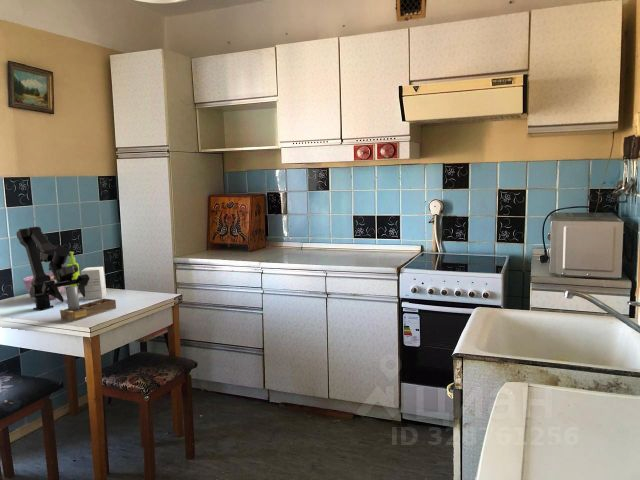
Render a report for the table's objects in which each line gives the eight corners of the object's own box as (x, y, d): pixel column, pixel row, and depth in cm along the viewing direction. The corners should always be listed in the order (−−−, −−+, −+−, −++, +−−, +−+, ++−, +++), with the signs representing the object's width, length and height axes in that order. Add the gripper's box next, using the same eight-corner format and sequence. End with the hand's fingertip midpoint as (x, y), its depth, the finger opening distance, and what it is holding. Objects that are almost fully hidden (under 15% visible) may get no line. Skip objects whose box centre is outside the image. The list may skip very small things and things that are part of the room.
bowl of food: (69, 299, 261) (66, 276, 259) (24, 305, 252) (20, 282, 251) (69, 292, 279) (67, 270, 277) (27, 297, 270) (24, 275, 269)
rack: (61, 319, 222) (59, 310, 222) (104, 306, 241) (103, 297, 241) (73, 321, 218) (71, 311, 218) (116, 308, 237) (115, 299, 237)
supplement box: (88, 296, 266) (85, 267, 264) (106, 294, 267) (103, 266, 266) (83, 300, 257) (80, 270, 255) (102, 298, 259) (99, 269, 257)
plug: (69, 316, 225) (66, 287, 223) (80, 314, 226) (77, 285, 225) (69, 318, 221) (65, 289, 219) (80, 317, 222) (76, 287, 221)
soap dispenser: (77, 285, 296) (73, 250, 294) (82, 286, 292) (78, 251, 289) (66, 287, 292) (62, 252, 289) (72, 288, 288) (68, 253, 285)
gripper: (41, 263, 216) (55, 291, 210) (85, 256, 230) (100, 282, 224) (35, 279, 222) (49, 308, 216) (79, 271, 236) (93, 298, 230)
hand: (74, 298), depth 222 cm, fingers open, 9 cm apart
